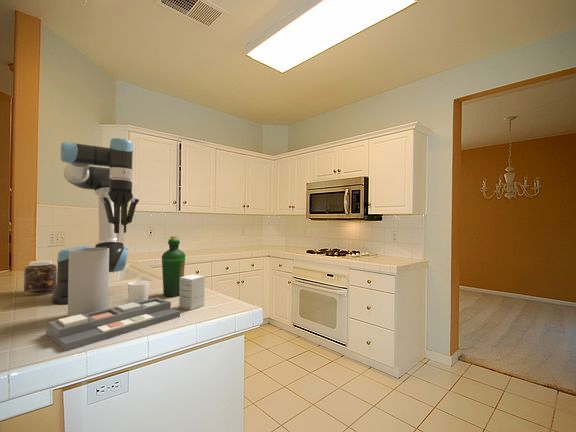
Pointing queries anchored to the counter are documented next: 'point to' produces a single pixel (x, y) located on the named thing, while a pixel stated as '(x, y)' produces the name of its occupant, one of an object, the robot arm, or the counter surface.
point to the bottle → (172, 268)
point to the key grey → (128, 307)
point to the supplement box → (191, 292)
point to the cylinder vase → (88, 280)
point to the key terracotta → (101, 315)
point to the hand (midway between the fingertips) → (119, 241)
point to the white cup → (138, 291)
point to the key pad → (110, 324)
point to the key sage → (151, 303)
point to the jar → (40, 278)
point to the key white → (72, 320)
